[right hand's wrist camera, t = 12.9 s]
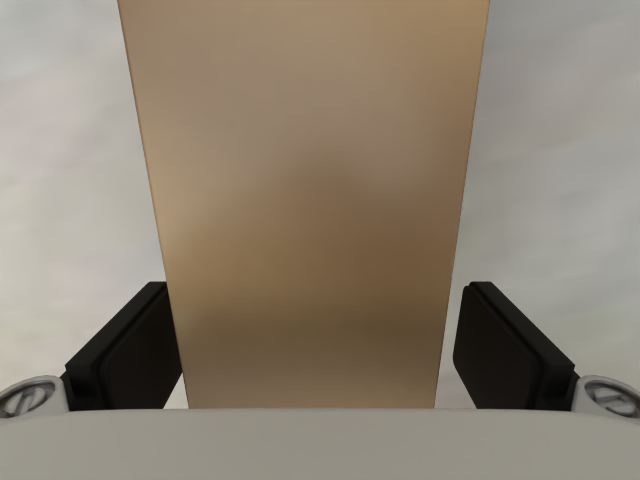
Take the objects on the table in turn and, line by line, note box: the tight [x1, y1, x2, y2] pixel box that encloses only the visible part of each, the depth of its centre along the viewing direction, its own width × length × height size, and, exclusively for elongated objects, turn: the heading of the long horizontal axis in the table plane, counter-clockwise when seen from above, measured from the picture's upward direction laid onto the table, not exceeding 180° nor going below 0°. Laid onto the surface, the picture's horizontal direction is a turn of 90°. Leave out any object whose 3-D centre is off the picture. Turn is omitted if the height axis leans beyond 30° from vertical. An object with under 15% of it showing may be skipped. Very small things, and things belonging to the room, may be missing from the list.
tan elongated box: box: [117, 0, 490, 409], centre depth 12 cm, size 20×6×11 cm, turn 0°
